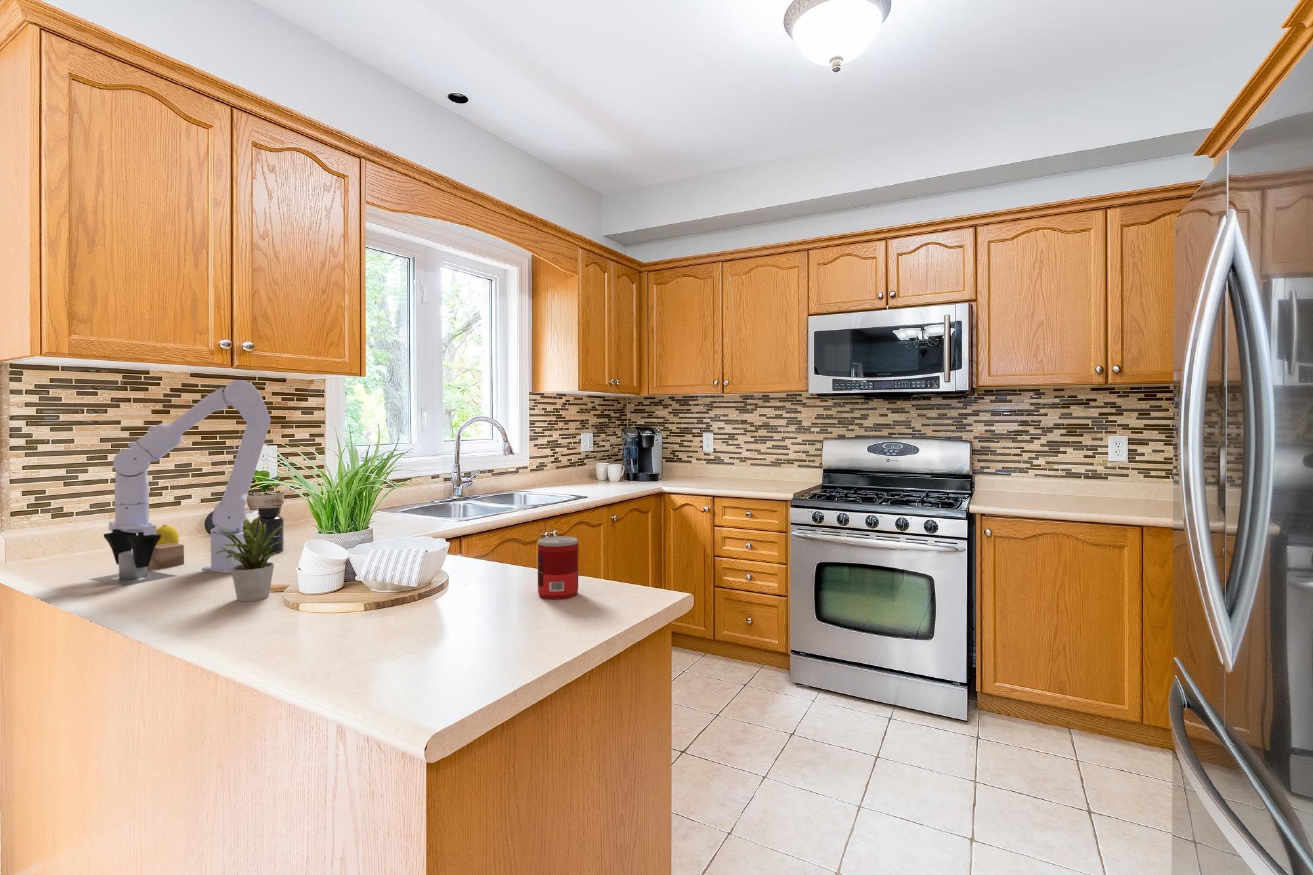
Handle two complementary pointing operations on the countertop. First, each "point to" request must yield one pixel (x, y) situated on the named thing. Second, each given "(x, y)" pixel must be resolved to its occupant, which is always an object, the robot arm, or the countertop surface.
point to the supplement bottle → (272, 527)
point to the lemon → (167, 535)
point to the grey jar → (130, 567)
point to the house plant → (251, 562)
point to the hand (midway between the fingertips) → (132, 565)
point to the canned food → (557, 567)
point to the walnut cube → (167, 555)
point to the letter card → (150, 577)
